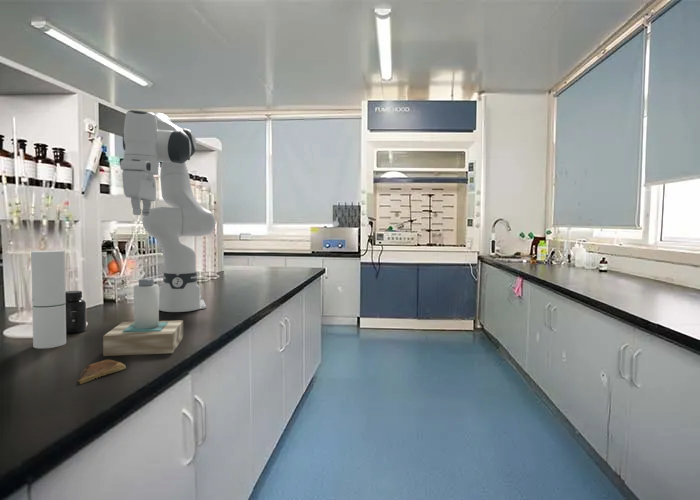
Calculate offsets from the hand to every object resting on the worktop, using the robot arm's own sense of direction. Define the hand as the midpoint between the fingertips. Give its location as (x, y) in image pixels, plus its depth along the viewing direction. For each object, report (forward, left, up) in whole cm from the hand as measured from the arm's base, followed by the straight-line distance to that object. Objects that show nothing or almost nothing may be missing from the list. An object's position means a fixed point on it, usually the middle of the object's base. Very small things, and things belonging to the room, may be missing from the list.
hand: (141, 215), depth 120 cm
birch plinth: (+12, +4, -35) cm, 37 cm away
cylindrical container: (+7, -21, -35) cm, 42 cm away
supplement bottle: (-7, -21, -35) cm, 42 cm away
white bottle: (+12, +4, -30) cm, 32 cm away
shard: (+32, 0, -36) cm, 48 cm away
